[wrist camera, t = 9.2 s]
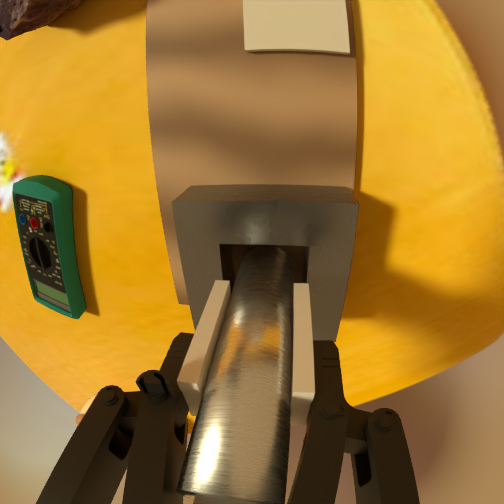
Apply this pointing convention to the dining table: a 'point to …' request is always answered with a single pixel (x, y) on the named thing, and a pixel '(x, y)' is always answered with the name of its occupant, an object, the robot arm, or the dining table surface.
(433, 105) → the dining table surface
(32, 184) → the digital multimeter
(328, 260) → the block
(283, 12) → the pad
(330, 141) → the board
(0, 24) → the rock
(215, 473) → the silver metal post
